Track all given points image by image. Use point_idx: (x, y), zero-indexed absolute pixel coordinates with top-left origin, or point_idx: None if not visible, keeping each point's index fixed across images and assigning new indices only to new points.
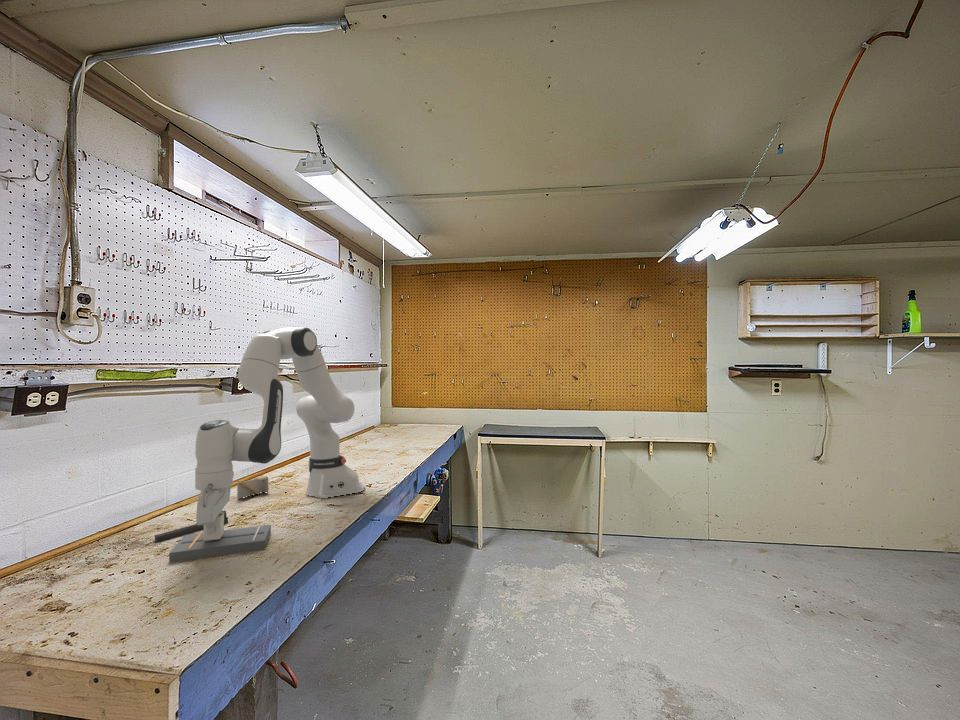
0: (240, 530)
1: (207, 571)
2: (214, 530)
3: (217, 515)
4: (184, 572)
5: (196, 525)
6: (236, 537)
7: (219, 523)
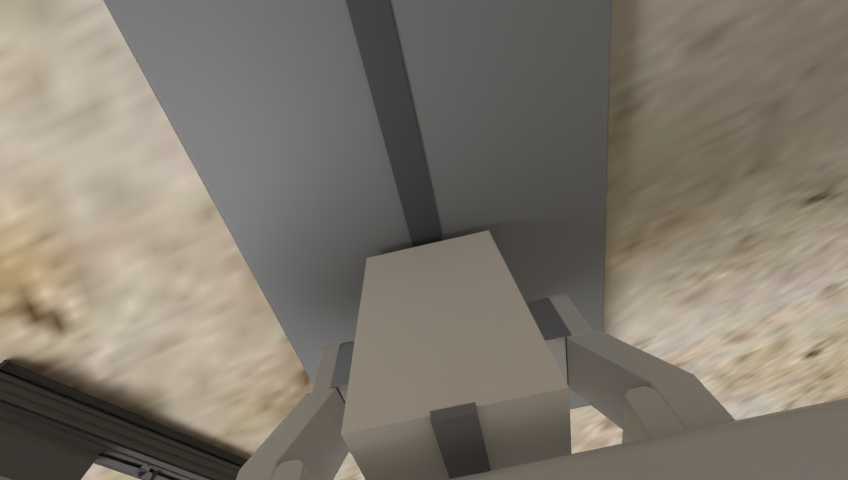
0: (257, 157)
1: (799, 119)
2: (573, 307)
3: (783, 438)
4: (735, 244)
5: (166, 471)
6: (433, 116)
7: (535, 328)
